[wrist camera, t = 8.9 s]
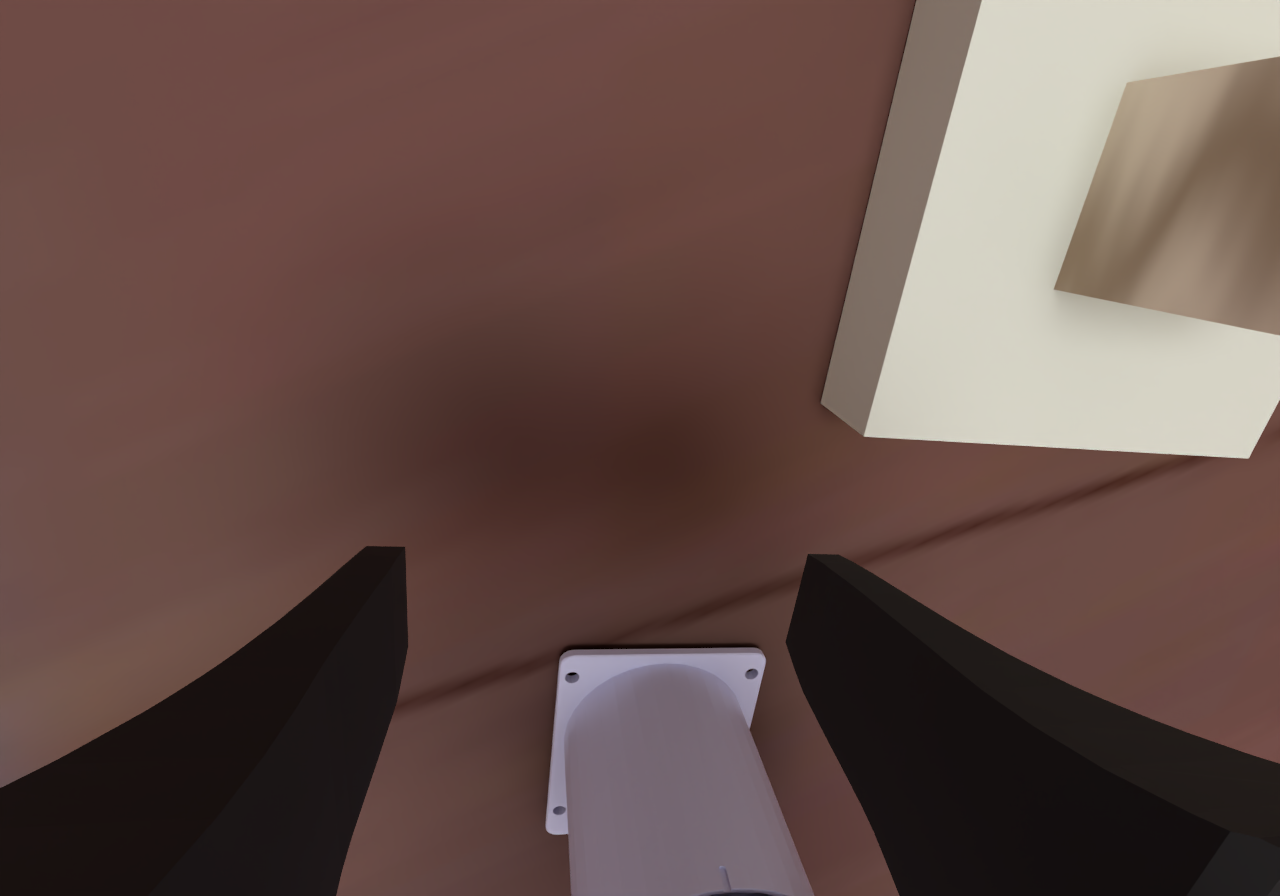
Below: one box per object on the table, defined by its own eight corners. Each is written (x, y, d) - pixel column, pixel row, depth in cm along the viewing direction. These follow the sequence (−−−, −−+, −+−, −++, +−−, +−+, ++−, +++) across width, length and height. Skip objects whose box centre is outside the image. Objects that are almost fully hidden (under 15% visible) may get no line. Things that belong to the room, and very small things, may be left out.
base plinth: (1165, 426, 23) (1248, 458, 21) (820, 403, 21) (863, 436, 18) (1372, -21, 18) (1521, -58, 15) (946, -127, 15) (1034, -193, 13)
